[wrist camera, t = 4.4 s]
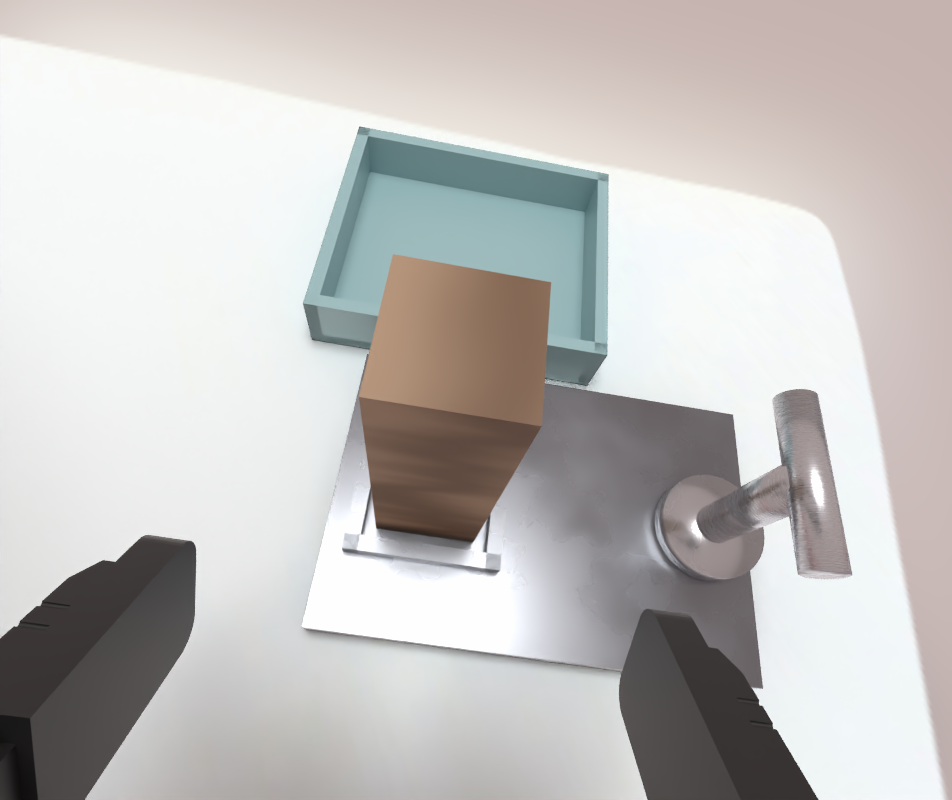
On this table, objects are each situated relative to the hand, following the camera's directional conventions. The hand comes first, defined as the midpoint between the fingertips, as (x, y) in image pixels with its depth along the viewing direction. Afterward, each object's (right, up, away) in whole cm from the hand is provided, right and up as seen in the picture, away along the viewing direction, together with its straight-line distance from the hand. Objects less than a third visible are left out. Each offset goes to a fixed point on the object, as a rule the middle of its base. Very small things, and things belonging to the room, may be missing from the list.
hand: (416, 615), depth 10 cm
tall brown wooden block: (-1, 0, +14) cm, 14 cm away
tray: (+1, +11, +21) cm, 23 cm away
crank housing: (+4, -1, +15) cm, 16 cm away
